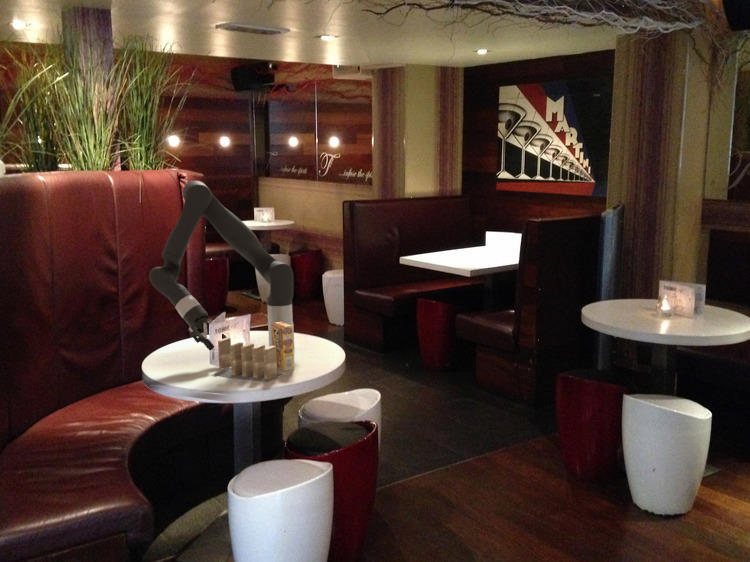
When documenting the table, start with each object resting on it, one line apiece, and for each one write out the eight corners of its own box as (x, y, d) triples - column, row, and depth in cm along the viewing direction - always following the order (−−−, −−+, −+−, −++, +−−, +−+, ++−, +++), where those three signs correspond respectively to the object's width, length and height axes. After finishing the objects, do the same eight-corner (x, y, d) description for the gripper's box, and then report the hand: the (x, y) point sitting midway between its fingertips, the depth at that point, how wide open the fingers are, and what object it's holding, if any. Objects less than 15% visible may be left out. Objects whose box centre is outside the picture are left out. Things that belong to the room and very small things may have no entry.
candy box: (295, 369, 244) (293, 325, 242) (283, 371, 242) (282, 327, 240) (283, 364, 252) (281, 321, 249) (272, 365, 249) (270, 322, 247)
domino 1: (219, 369, 246) (217, 340, 245) (228, 365, 251) (226, 337, 249) (223, 369, 246) (221, 341, 244) (231, 365, 250) (230, 337, 249)
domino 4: (253, 377, 234) (252, 348, 232) (261, 373, 238) (260, 344, 237) (257, 378, 233) (256, 348, 231) (266, 374, 237) (264, 344, 236)
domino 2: (231, 375, 237) (230, 345, 236) (240, 371, 242) (238, 342, 240) (235, 375, 236) (234, 346, 235) (244, 371, 241) (242, 342, 239)
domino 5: (264, 379, 232) (263, 349, 230) (273, 375, 236) (271, 345, 235) (268, 379, 231) (267, 349, 230) (277, 375, 236) (276, 346, 234)
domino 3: (242, 376, 235) (241, 346, 234) (251, 372, 240) (249, 343, 238) (246, 377, 235) (245, 347, 233) (255, 373, 239) (253, 343, 238)
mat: (228, 368, 247) (228, 367, 247) (283, 375, 238) (283, 374, 238) (210, 376, 238) (210, 375, 238) (267, 383, 229) (267, 382, 229)
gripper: (183, 307, 243) (213, 343, 240) (209, 300, 256) (238, 334, 253) (172, 322, 246) (201, 357, 243) (198, 314, 259) (226, 348, 256)
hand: (220, 345), depth 248 cm, fingers open, 8 cm apart
